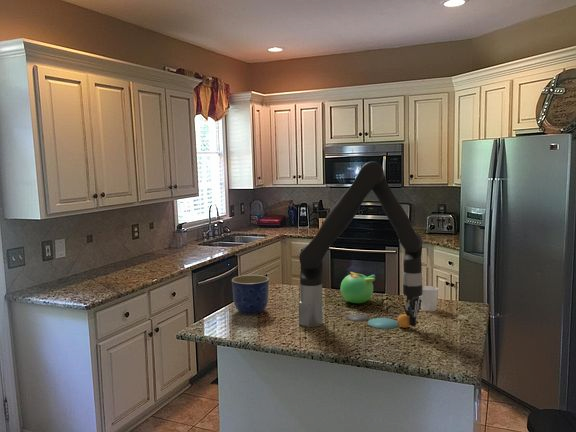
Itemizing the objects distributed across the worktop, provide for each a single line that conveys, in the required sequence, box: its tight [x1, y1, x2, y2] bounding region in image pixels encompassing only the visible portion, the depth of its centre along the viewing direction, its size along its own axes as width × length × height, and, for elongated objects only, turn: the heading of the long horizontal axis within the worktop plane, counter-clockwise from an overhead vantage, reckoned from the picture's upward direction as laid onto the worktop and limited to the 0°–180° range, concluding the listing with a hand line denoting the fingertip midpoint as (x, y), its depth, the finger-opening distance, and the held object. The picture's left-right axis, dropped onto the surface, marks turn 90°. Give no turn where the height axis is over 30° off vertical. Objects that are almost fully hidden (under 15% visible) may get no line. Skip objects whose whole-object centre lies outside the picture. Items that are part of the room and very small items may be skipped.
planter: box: [231, 274, 270, 315], centre depth 214 cm, size 17×17×15 cm
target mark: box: [367, 317, 400, 330], centre depth 196 cm, size 13×13×1 cm
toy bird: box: [340, 271, 376, 304], centre depth 227 cm, size 18×17×15 cm
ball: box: [396, 313, 411, 329], centre depth 191 cm, size 6×6×6 cm
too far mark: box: [347, 314, 370, 323], centre depth 204 cm, size 9×9×1 cm
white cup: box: [420, 285, 439, 312], centre depth 214 cm, size 8×8×10 cm
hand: (412, 325), depth 188 cm, fingers closed
